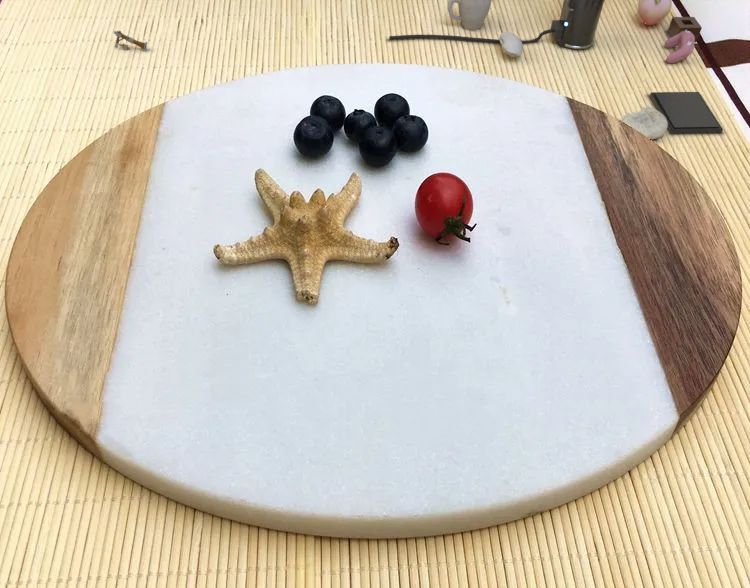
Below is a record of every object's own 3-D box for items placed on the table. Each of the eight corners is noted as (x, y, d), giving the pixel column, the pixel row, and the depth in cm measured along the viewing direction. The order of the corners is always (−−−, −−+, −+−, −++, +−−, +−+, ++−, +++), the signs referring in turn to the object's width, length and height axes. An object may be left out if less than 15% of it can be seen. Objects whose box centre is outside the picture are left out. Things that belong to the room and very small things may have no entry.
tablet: (670, 134, 154) (672, 129, 153) (649, 96, 164) (651, 91, 163) (721, 133, 155) (723, 128, 154) (697, 95, 164) (699, 90, 164)
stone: (492, 47, 177) (496, 28, 173) (511, 45, 178) (515, 25, 174) (506, 66, 171) (510, 46, 167) (526, 63, 172) (530, 44, 168)
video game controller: (677, 71, 174) (700, 49, 169) (664, 61, 173) (686, 38, 168) (675, 52, 180) (696, 30, 175) (662, 43, 179) (683, 20, 174)
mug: (480, 16, 187) (486, -22, 179) (492, 31, 182) (498, -7, 174) (440, 20, 185) (443, -17, 177) (451, 36, 180) (455, -2, 172)
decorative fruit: (667, 33, 183) (681, -5, 175) (637, 32, 183) (650, -6, 175) (658, 17, 189) (672, -21, 181) (630, 16, 189) (642, -22, 181)
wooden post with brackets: (112, 43, 171) (115, 27, 168) (144, 56, 174) (147, 41, 171) (110, 46, 170) (113, 30, 167) (142, 60, 173) (145, 44, 170)
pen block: (674, 42, 180) (680, 27, 177) (667, 31, 184) (672, 16, 181) (696, 42, 181) (702, 27, 177) (688, 31, 184) (694, 16, 181)
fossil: (636, 95, 156) (676, 113, 154) (629, 109, 159) (668, 127, 157) (620, 117, 150) (662, 136, 148) (613, 131, 153) (654, 150, 151)
